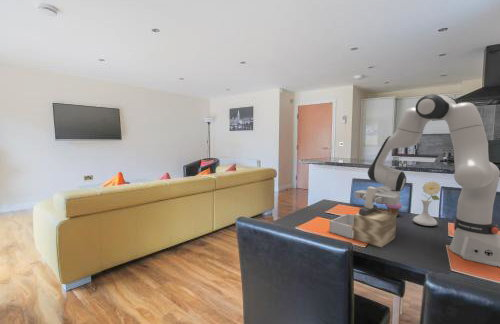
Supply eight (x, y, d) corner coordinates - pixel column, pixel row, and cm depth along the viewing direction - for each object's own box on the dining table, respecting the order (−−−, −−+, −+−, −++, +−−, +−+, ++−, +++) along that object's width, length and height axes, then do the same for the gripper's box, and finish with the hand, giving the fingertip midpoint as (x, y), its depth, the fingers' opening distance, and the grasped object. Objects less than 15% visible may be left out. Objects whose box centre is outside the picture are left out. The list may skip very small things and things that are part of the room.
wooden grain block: (395, 238, 124) (396, 214, 123) (381, 247, 113) (382, 221, 112) (368, 230, 133) (369, 208, 132) (353, 238, 123) (354, 214, 122)
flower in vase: (407, 222, 147) (410, 179, 145) (422, 220, 151) (425, 178, 148) (429, 229, 135) (433, 183, 133) (445, 227, 139) (448, 182, 136)
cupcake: (386, 216, 158) (387, 200, 157) (383, 212, 166) (384, 197, 165) (402, 217, 155) (403, 201, 154) (399, 213, 163) (400, 198, 162)
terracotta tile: (351, 224, 138) (351, 227, 138) (347, 225, 135) (347, 228, 135) (358, 226, 135) (358, 229, 135) (355, 227, 132) (354, 230, 132)
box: (368, 230, 134) (368, 219, 134) (351, 238, 123) (352, 226, 122) (347, 224, 143) (347, 213, 143) (329, 232, 132) (329, 220, 131)
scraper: (376, 210, 128) (380, 186, 126) (365, 215, 119) (369, 190, 117) (370, 208, 130) (374, 185, 128) (358, 213, 122) (362, 188, 119)
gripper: (361, 186, 140) (349, 189, 131) (403, 192, 124) (392, 196, 115) (361, 197, 140) (348, 201, 131) (402, 204, 125) (391, 210, 116)
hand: (369, 199), depth 123 cm, fingers closed on scraper, 3 cm apart
